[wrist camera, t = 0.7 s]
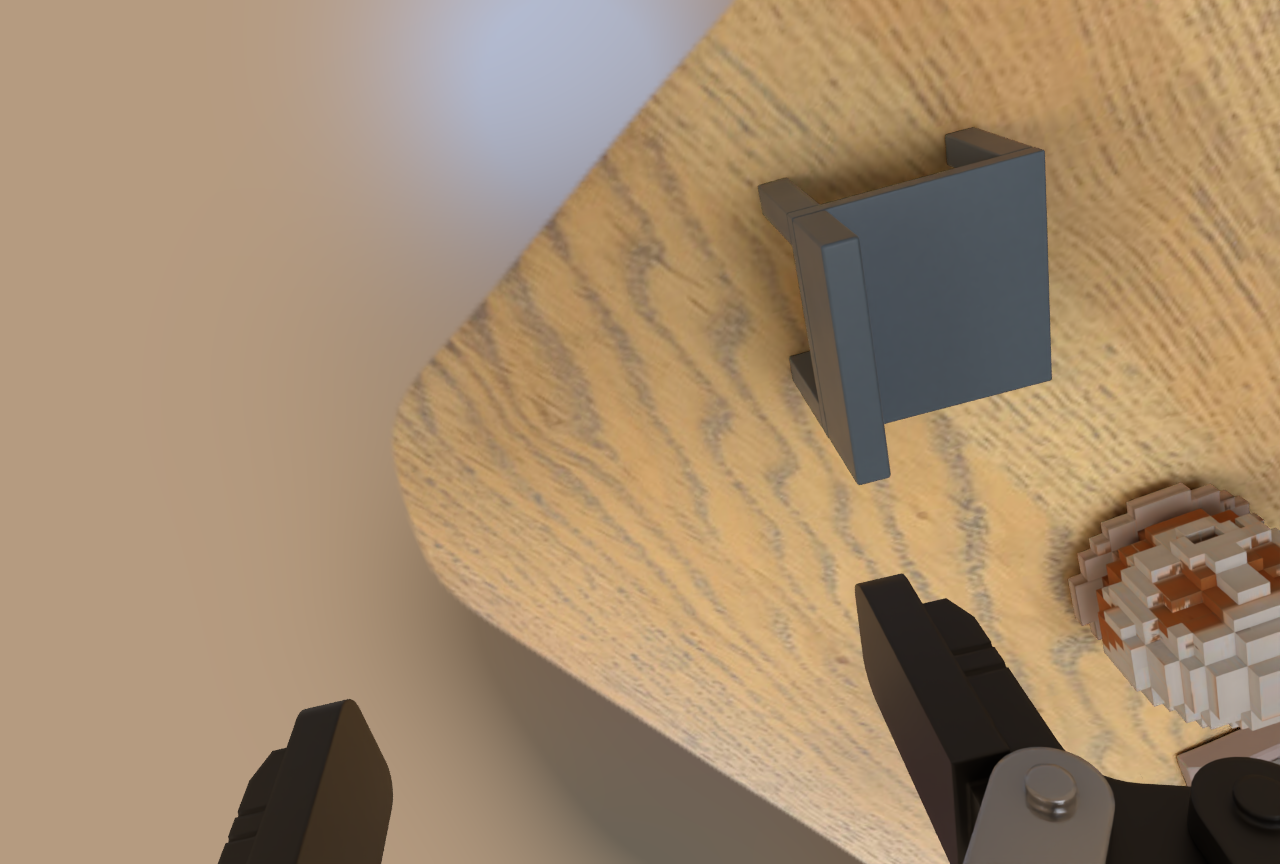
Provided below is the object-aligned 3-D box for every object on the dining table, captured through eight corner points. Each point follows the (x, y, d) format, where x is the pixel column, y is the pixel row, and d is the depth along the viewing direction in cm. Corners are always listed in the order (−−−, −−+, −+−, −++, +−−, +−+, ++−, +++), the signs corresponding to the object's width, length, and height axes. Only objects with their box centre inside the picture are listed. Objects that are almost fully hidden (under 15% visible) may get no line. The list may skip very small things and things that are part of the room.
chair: (757, 185, 29) (820, 246, 22) (974, 126, 28) (1106, 169, 22) (793, 381, 32) (857, 487, 25) (987, 329, 32) (1106, 422, 25)
